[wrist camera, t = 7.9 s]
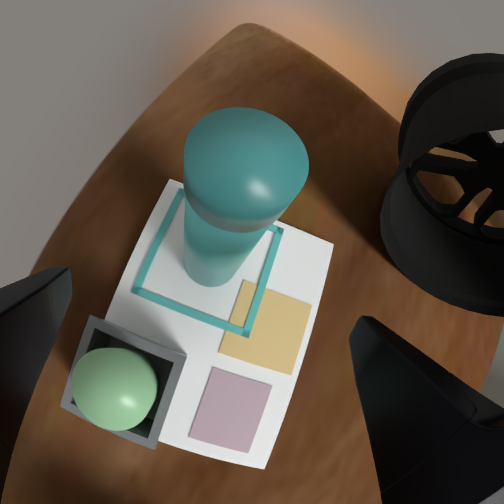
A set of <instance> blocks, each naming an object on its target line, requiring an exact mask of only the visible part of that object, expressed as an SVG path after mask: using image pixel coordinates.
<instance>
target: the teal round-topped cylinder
mask: <svg viewBox="0 0 504 504" xmlns="http://www.w3.org/2000/svg"><path fill="white" fill-rule="evenodd" d="M308 171H309V160H308V155H307V152H306V149H305V146H304V144H303V143H302V141H301V139H300V138H299V136H298V135H297V134H296V133H295V131H294V130H293V129H292V128H291V127H290V126H289V125H287V124H286V123H285V122H283V121H282V120H280V119H279V118H277V117H276V116H274V115H272V114H269V113H267V112H264V111H261V110H258V109H253V108H247V107H230V108H224V109H220V110H217V111H214V112H212V113H210V114H208V115H206V116H204V117H203V118H201V119H200V120H199V121H198V122H197V123H196V124H195V125H194V126H193V127H192V129H191V131H190V132H189V134H188V136H187V139H186V143H185V149H184V170H183V187H184V192H185V214H184V267H185V270H186V272H187V274H188V276H189V277H190V278H191V279H192V280H193V281H194V282H196V283H197V284H199V285H202V286H205V287H218V286H221V285H223V284H225V283H227V282H228V281H229V280H230V279H231V278H232V277H233V276H234V274H235V273H236V272H237V270H238V269H239V268H240V266H241V265H242V264H243V262H244V261H245V259H246V258H247V257H248V255H249V254H250V253H251V251H252V250H253V249H254V247H255V246H256V244H257V243H258V242H259V240H260V239H261V238H262V236H263V235H264V234H265V232H266V231H267V229H268V228H269V227H270V225H271V224H273V223H274V222H275V221H276V220H278V219H279V217H280V216H281V215H282V214H283V213H284V211H285V210H286V209H287V207H288V206H289V205H290V203H291V202H292V201H293V200H294V198H295V197H296V196H297V194H298V193H299V192H300V190H301V189H302V187H303V186H304V184H305V182H306V179H307V176H308Z"/></svg>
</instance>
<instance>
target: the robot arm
mask: <svg viewBox="0 0 504 504" xmlns="http://www.w3.org/2000/svg"><path fill="white" fill-rule="evenodd" d="M71 298H72V281H71V272H70V269H69V268H68V267H64V266H60V265H56V266H54V267H51V268H49V269H46V270H44V271H41V272H39V273H36V274H34V275H31V276H29V277H26V278H24V279H22V280H19V281H17V282H15V283H12V284H10V285H7V286H5V287H3V288H0V503H1V498H2V493H3V489H4V484H5V480H6V476H7V472H8V468H9V464H10V460H11V457H12V456H11V455H12V452H13V449H14V446H15V442H16V439H17V436H18V433H19V430H20V427H21V424H22V421H23V418H24V415H25V412H26V410H27V407H28V404H29V402H30V399H31V396H32V394H33V391H34V389H35V386H36V384H37V381H38V379H39V377H40V374H41V372H42V369H43V367H44V365H45V363H46V360H47V358H48V356H49V354H50V352H51V349H52V347H53V345H54V343H55V341H56V338H57V336H58V333H59V330H60V328H61V325H62V322H63V319H64V317H65V314H66V311H67V309H68V306H69V304H70V301H71ZM349 345H350V351H351V357H352V364H353V370H354V376H355V382H356V386H357V390H358V394H359V398H360V402H361V406H362V410H363V414H364V418H365V422H366V426H367V431H368V435H369V439H370V444H371V448H372V453H373V458H374V462H375V467H376V472H377V477H378V482H379V487H380V492H381V493H380V494H381V499H382V504H504V408H502V407H501V406H499V405H497V404H496V403H494V402H493V401H491V400H490V399H488V398H486V397H485V396H483V395H482V394H480V393H479V392H477V391H476V390H474V389H473V388H471V387H470V386H468V385H467V384H465V383H464V382H463V381H461V380H460V379H458V378H457V377H456V376H454V375H453V374H452V373H449V371H447V370H446V369H445V368H443V367H442V366H441V365H439V364H438V363H436V362H435V361H434V360H432V359H431V358H429V357H428V356H427V355H425V354H424V353H423V352H421V351H420V350H418V349H417V348H416V347H414V346H413V345H411V344H410V343H409V342H407V341H406V340H404V339H403V338H402V337H400V336H399V335H397V334H396V333H395V332H393V331H392V330H390V329H389V328H388V327H386V326H385V325H383V324H382V323H381V322H379V321H378V320H376V319H375V318H374V317H371V316H360V317H359V318H358V320H357V322H356V324H355V326H354V328H353V330H352V332H351V334H350V336H349Z"/></svg>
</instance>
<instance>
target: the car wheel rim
mask: <svg viewBox="0 0 504 504" xmlns="http://www.w3.org/2000/svg"><path fill="white" fill-rule="evenodd" d="M501 129H504V55H503V54H494V53H484V54H483V53H482V54H471V55H468V56H464V57H461V58H458V59H455V60H451V61H449V62H447V63H446V64H444V65H442V66H441V67H439V68H437V69H436V70H434V71H433V72H431V73H430V74H429V75H428V76H427V77H426V78H425V79H424V80H423V81H422V82H421V83H420V84H419V85H418V87H417V88H416V90H415V91H414V93H413V95H412V96H411V98H410V99H409V101H408V103H407V106H406V109H405V113H404V116H403V119H402V123H401V128H400V133H399V140H398V154H399V161H400V163H399V167H398V170H397V172H396V173H395V175H394V176H393V178H392V180H391V182H390V184H389V186H388V188H387V191H386V194H385V198H384V202H383V206H382V210H381V213H380V226H381V237H382V239H383V242H384V244H385V247H386V249H387V252H388V254H389V256H390V257H391V258H392V260H393V261H394V263H395V264H396V266H397V267H398V268H399V269H400V270H401V271H402V272H403V273H404V274H405V275H406V276H407V277H408V278H409V279H410V280H411V281H412V282H414V283H415V284H416V285H417V286H419V287H420V288H421V289H423V290H425V291H426V292H428V293H429V294H431V295H433V296H434V297H436V298H438V299H441V300H443V301H445V302H447V303H449V304H451V305H454V306H457V307H460V308H463V309H466V310H468V311H473V312H477V313H481V314H485V315H493V316H500V317H504V228H494V227H491V226H487V225H484V223H485V222H486V221H487V219H488V218H489V217H490V216H491V215H492V214H493V213H494V212H495V211H498V210H504V142H503V143H496V141H495V140H494V139H493V138H492V137H491V135H490V133H489V132H488V131H494V130H501ZM434 147H439V148H443V149H447V150H451V151H455V152H459V153H463V154H466V155H468V156H469V157H471V158H473V159H475V160H477V161H465V160H462V159H456V158H451V157H446V156H440V155H434V154H428V153H427V152H428V151H430V150H431V149H433V148H434ZM412 162H413V163H412ZM411 163H412V165H411V167H410V168H409V165H410V164H411ZM420 170H422V171H428V172H433V173H439V174H444V175H449V176H454V178H455V179H456V180H457V181H458V182H459V184H460V185H461V186H462V188H463V190H464V194H463V196H462V197H461V198H460V199H459V201H458V202H457V203H456V204H454V205H452V204H441V203H440V202H438V201H436V200H435V199H434V198H433V197H432V196H431V195H430V194H429V193H428V192H427V190H426V189H425V188H424V186H423V185H422V184H421V183H420V181H419V179H418V177H417V175H416V174H417V172H418V171H420ZM486 188H490V189H492V192H491V193H490V195H489V196H488V197H487V199H486V200H485V201H484V203H483V204H482V205H481V207H480V208H479V209H478V210H477V212H476V213H475V217H474V224H472V223H469V222H467V221H465V220H463V219H461V218H459V217H457V216H458V215H459V214H460V213H461V212H462V211H463V209H464V208H465V207H466V206H467V205H468V204H469V203H470V201H471V200H472V199H473V198H474V197H475V196H476V195H477V194H478V193H480V192H481V191H483V190H484V189H486Z"/></svg>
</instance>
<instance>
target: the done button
mask: <svg viewBox="0 0 504 504" xmlns="http://www.w3.org/2000/svg"><path fill="white" fill-rule="evenodd" d="M71 389H72V394H73V398H74V400H75V403H76V405H77V406H78V408H79V410H80V411H81V412H82V414H83V415H84V416H85V417H86V418H87V419H88V420H90V421H91V422H92V423H94V424H95V425H97V426H99V427H102V428H104V429H108V430H113V431H121V430H127V429H130V428H132V427H135V426H136V425H138V424H139V423H140V422H141V421H142V420H143V419H144V418H145V417H146V415H147V413H148V412H149V410H150V408H151V406H152V405H153V403H154V401H155V399H156V397H157V396H158V393H159V390H160V376H159V372H158V370H157V367H156V366H155V364H154V363H153V361H152V360H151V359H150V358H149V357H148V356H147V355H146V354H144V353H143V352H141V351H139V350H136V349H133V348H100V349H95V350H92V351H90V352H88V353H86V354H85V355H84V356H83V357H81V358H80V360H79V361H78V362H77V364H76V365H75V367H74V370H73V373H72V377H71Z"/></svg>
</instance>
